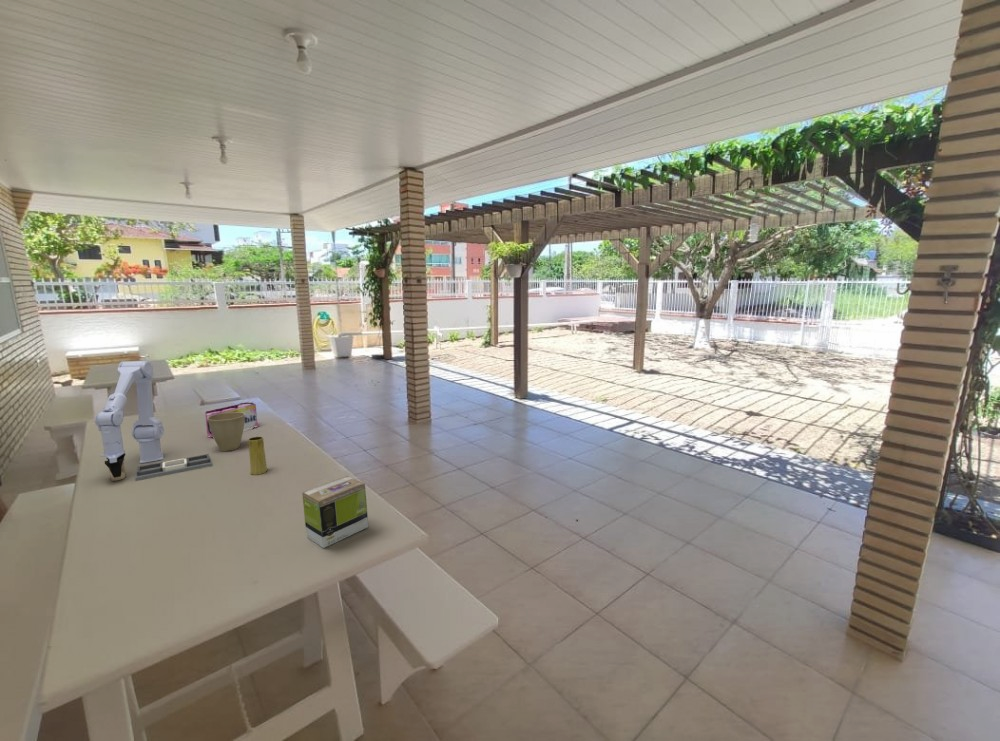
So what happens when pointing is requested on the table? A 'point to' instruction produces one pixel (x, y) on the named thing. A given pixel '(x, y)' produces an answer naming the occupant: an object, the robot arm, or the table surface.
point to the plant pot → (227, 429)
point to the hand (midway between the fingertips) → (117, 474)
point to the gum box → (243, 408)
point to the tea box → (335, 510)
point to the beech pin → (121, 474)
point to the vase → (257, 455)
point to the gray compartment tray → (172, 466)
